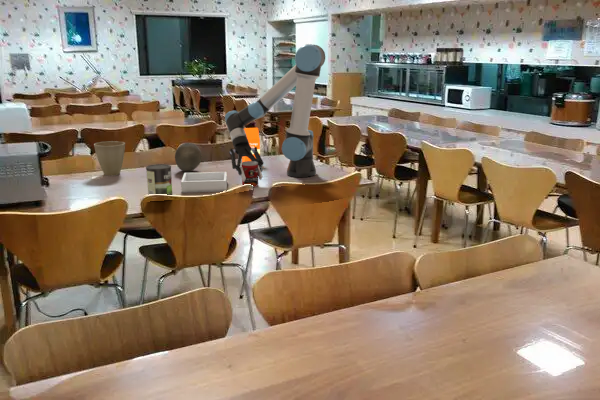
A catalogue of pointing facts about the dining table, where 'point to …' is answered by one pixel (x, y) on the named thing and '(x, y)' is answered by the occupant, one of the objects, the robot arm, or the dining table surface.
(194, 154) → the cantaloupe
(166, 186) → the coffee can
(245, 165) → the canned food
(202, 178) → the tray
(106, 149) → the plant pot
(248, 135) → the orange juice
